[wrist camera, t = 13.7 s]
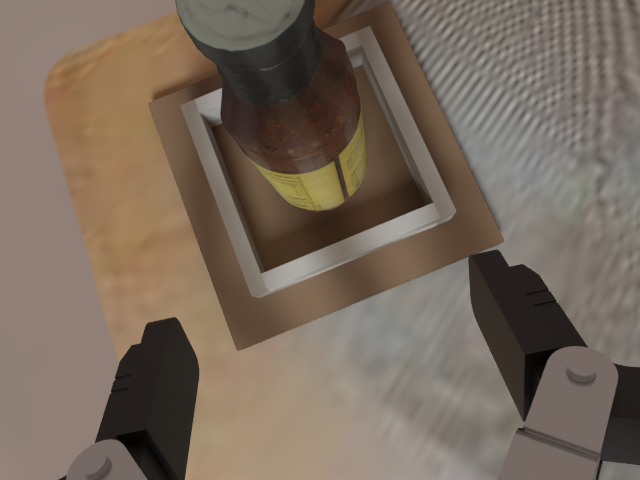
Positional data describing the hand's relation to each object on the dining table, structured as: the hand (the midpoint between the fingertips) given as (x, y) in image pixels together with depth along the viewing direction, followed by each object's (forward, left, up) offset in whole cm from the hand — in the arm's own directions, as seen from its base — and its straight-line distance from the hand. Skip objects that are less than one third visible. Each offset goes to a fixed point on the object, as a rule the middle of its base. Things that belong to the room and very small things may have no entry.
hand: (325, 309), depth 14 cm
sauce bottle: (-2, -10, -19) cm, 21 cm away
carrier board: (-2, -10, -20) cm, 22 cm away
